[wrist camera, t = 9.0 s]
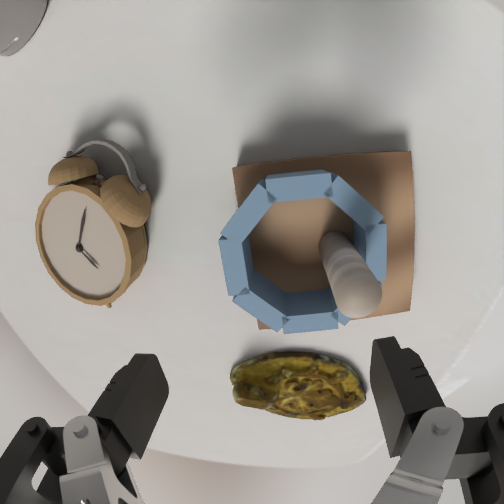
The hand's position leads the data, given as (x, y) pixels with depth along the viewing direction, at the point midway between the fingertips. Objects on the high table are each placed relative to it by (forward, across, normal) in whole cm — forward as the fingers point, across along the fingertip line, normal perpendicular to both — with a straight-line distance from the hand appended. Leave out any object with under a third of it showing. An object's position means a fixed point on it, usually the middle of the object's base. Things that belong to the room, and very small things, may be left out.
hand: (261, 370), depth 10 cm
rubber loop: (+13, -2, 0) cm, 13 cm away
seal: (+15, -1, +16) cm, 22 cm away
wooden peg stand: (+15, -4, 0) cm, 15 cm away
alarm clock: (+15, +15, -4) cm, 22 cm away
